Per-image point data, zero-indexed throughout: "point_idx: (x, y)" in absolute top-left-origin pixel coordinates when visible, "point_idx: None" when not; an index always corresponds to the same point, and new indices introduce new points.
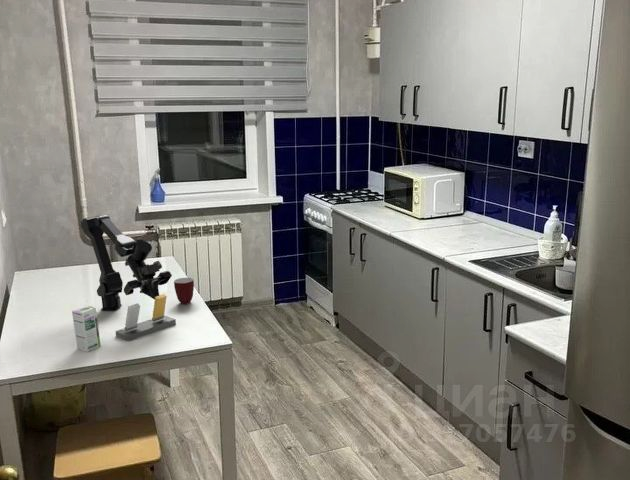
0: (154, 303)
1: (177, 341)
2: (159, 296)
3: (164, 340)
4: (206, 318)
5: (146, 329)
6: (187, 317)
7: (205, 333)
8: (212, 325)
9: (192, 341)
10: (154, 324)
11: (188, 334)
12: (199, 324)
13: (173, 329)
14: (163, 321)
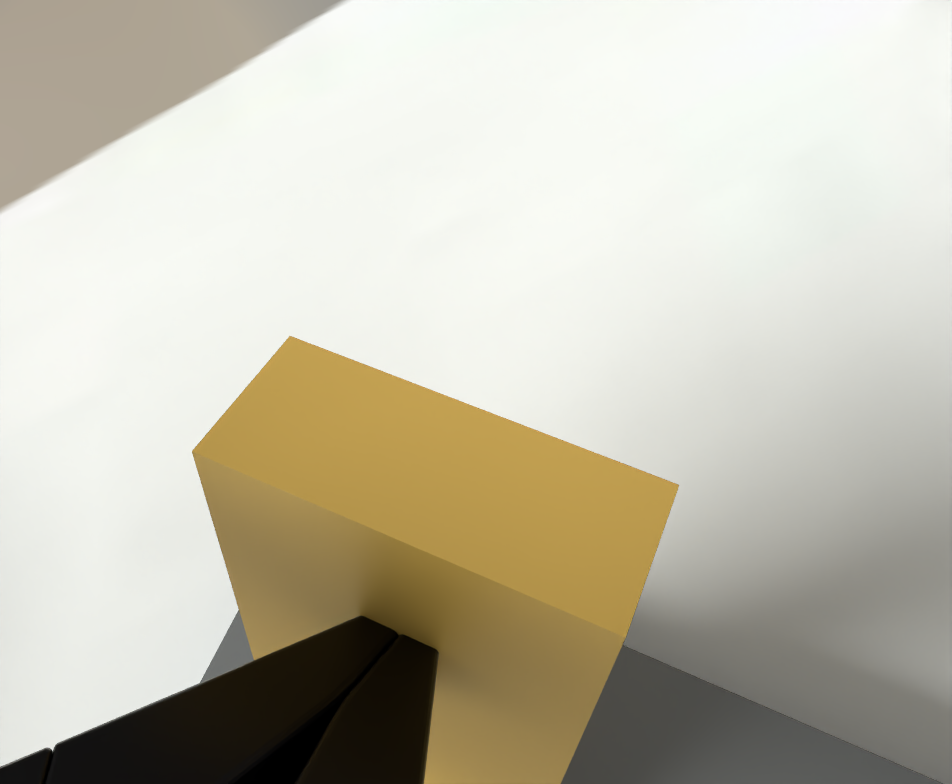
0: (571, 756)
1: (897, 190)
2: (476, 509)
3: (949, 362)
4: (50, 227)
5: (915, 778)
6: (13, 498)
7: (546, 27)
8: (287, 64)
9: (818, 43)
10: (629, 762)
11: (637, 178)
12: (276, 211)
13: None
14: None
